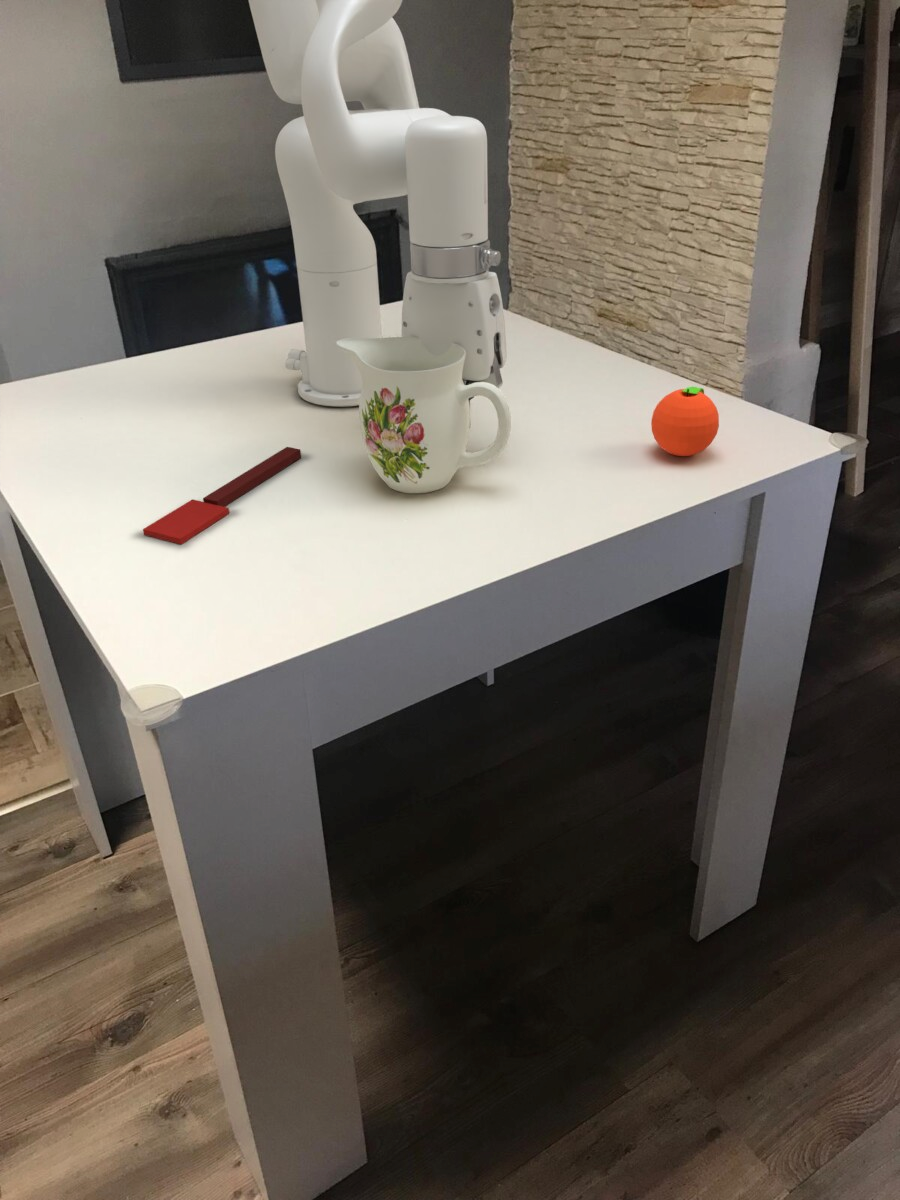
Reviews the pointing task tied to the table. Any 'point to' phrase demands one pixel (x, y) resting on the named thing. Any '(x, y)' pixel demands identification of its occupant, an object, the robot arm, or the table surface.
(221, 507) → the spatula
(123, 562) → the table surface
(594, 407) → the table surface
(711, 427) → the clementine
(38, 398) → the table surface
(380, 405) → the pitcher
